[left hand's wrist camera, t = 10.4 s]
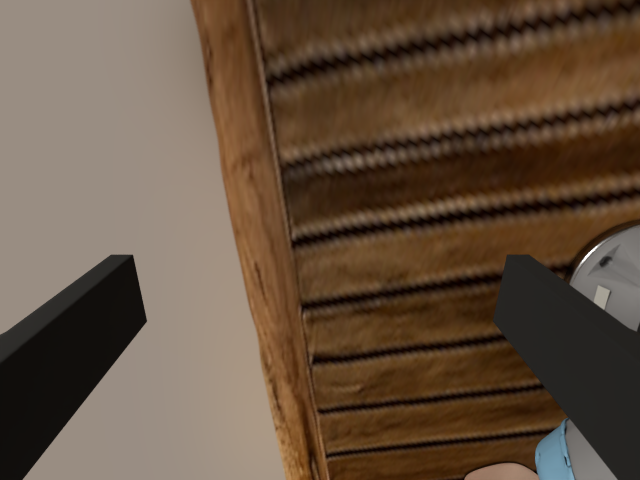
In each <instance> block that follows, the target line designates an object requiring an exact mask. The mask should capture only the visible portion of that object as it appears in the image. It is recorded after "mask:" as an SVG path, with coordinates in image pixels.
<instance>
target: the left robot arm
mask: <svg viewBox="0 0 640 480" xmlns="http://www.w3.org/2000/svg"><path fill="white" fill-rule="evenodd" d="M146 322H147V319H146V314H145V310H144V305H143V300H142V295H141V291H140V286H139V281H138V276H137V272H136V267H135V262H134V258H133V255H110V256H109V257H107V258H106V259H105V260H103V261H102V262H101V263H99V264H98V265H96V266H95V267H94V268H92V269H91V270H90V271H88V272H87V273H86V274H84V275H83V276H82V277H80V278H79V279H77V280H76V281H75V282H73V283H72V284H71V285H69V286H68V287H67V288H65V289H64V290H62V291H61V292H60V293H58V294H57V295H56V296H54V297H53V298H52V299H50V300H49V301H47V302H46V303H45V304H43V305H42V306H41V307H39V308H38V309H37V310H35V311H34V312H33V313H31V314H30V315H29V316H27V317H26V318H24V319H23V320H22V321H20V322H19V323H18V324H16V325H15V326H14V327H12V328H11V329H9V330H8V331H7V332H5V333H3V334H1V335H0V480H23V478H24V477H25V476H26V475H27V473H28V472H29V471H30V469H31V468H32V467H33V466H34V464H35V463H36V462H37V461H38V459H39V458H40V457H41V455H42V454H43V453H44V452H45V450H46V449H47V448H48V447H49V445H50V444H51V443H52V441H53V440H54V439H55V438H56V436H57V435H58V434H59V433H60V431H61V430H62V429H63V427H64V426H65V425H66V424H67V422H68V421H69V420H70V419H71V417H72V416H73V415H74V413H75V412H76V411H77V410H78V408H79V407H80V406H81V405H82V403H83V402H84V401H85V400H86V398H87V397H88V396H89V394H90V393H91V392H92V391H93V389H94V388H95V387H96V385H97V384H98V383H99V382H100V380H101V379H102V378H103V377H104V375H105V374H106V373H107V371H108V370H109V369H110V368H111V366H112V365H113V364H114V363H115V361H116V360H117V359H118V358H119V356H120V355H121V354H122V352H123V351H124V350H125V349H126V347H127V346H128V345H129V344H130V342H131V341H132V340H133V338H134V337H135V336H136V335H137V333H138V332H139V331H140V330H141V328H142V327H143V326H144V324H145V323H146ZM493 322H494V323H495V324H496V326H497V327H498V328H499V330H500V331H501V332H502V333H503V335H504V336H505V337H506V338H507V340H508V341H509V342H510V344H511V345H512V346H513V347H514V349H515V350H516V351H517V352H518V354H519V355H520V356H521V358H522V359H523V360H524V361H525V363H526V364H527V365H528V366H529V368H530V369H531V370H532V372H533V373H534V374H535V375H536V377H537V378H538V379H539V380H540V382H541V383H542V384H543V386H544V387H545V388H546V389H547V391H548V392H549V393H550V394H551V396H552V397H553V398H554V400H555V401H556V402H557V403H558V405H559V406H560V407H561V408H562V410H563V411H564V412H565V414H566V415H567V416H568V417H569V418H566V419H565V420H563V421H562V423H561V425H560V426H559V427H558V428H557V429H555V430H554V431H553V432H551V433H550V434H549V435H548V436H546V437H545V438H544V439H542V440H541V441H540V443H539V444H538V446H537V448H536V452H535V462H536V467H537V473H538V476H539V480H640V220H637V221H632V222H628V223H625V224H621V225H619V226H616V227H614V228H612V229H610V230H608V231H606V232H604V233H603V234H601V235H600V236H598V237H597V238H595V239H594V240H593V241H591V242H590V243H589V244H588V245H587V246H586V247H585V248H583V250H582V251H581V252H580V253H579V254H578V255H577V256H576V258H575V259H574V260H573V262H572V263H571V265H570V267H569V269H568V271H567V273H566V275H565V278H564V280H563V279H561V278H560V277H559V276H557V275H556V274H554V273H553V272H552V271H550V270H549V269H548V268H546V267H545V266H544V265H542V264H541V263H539V262H538V261H537V260H535V259H534V258H533V257H531V256H530V255H507V258H506V262H505V267H504V272H503V276H502V281H501V286H500V291H499V295H498V300H497V305H496V310H495V314H494V319H493Z"/></svg>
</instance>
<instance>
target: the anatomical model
mask: <svg viewBox="0 0 640 480" xmlns="http://www.w3.org/2000/svg"><path fill="white" fill-rule="evenodd" d="M464 480H539V476H538V475H537V474H536V473H534V472H533V471H531V470H530V469H528V468H526V467H525V466H522V465H520V464H515V463H502V464H496V465H492V466H488V467H484V468H481V469H478V470H475V471H473V472H471V473H469V474H468V475H467V476H466V477H465V479H464Z"/></svg>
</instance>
